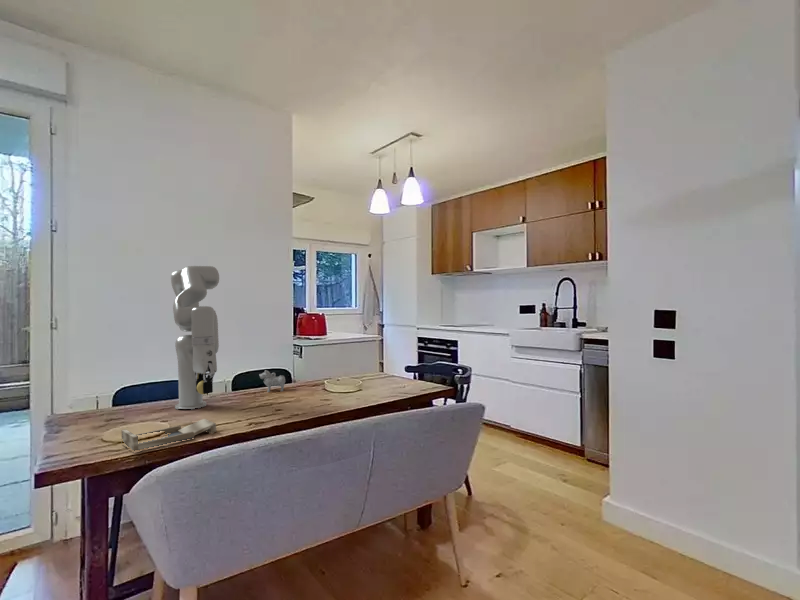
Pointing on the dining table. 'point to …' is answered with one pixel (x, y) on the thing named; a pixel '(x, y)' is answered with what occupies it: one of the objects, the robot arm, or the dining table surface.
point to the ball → (200, 387)
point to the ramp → (199, 427)
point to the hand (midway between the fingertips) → (204, 391)
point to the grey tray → (132, 440)
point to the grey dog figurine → (272, 380)
